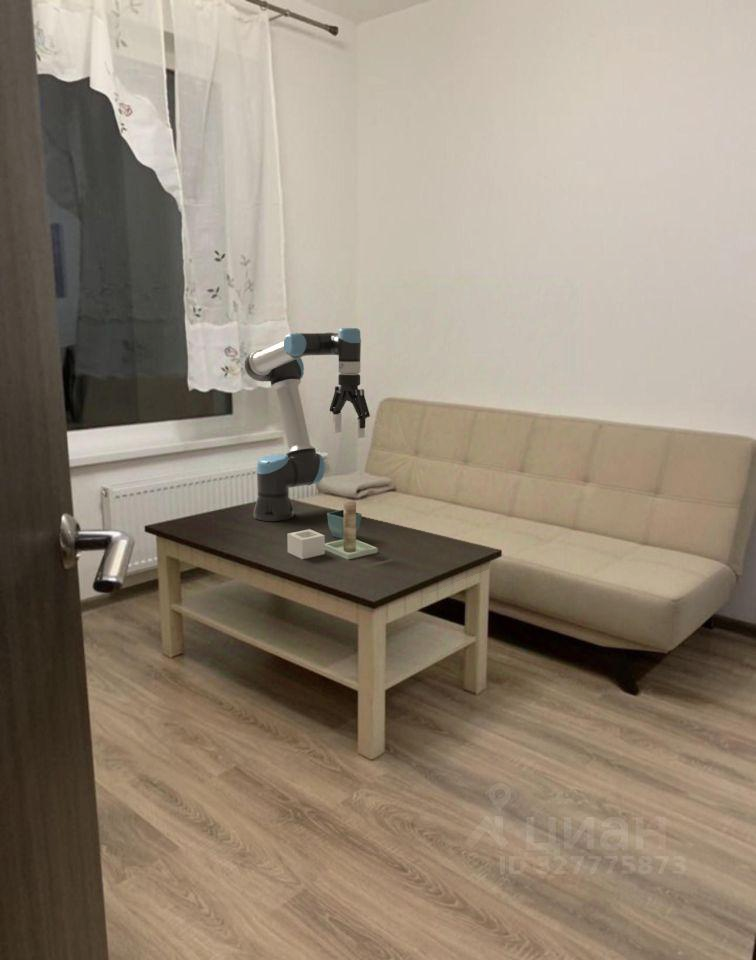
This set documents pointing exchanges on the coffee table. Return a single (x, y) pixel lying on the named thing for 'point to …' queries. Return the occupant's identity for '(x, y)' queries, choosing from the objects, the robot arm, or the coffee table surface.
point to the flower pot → (340, 523)
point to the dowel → (349, 526)
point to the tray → (361, 550)
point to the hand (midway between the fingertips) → (349, 434)
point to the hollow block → (306, 543)
